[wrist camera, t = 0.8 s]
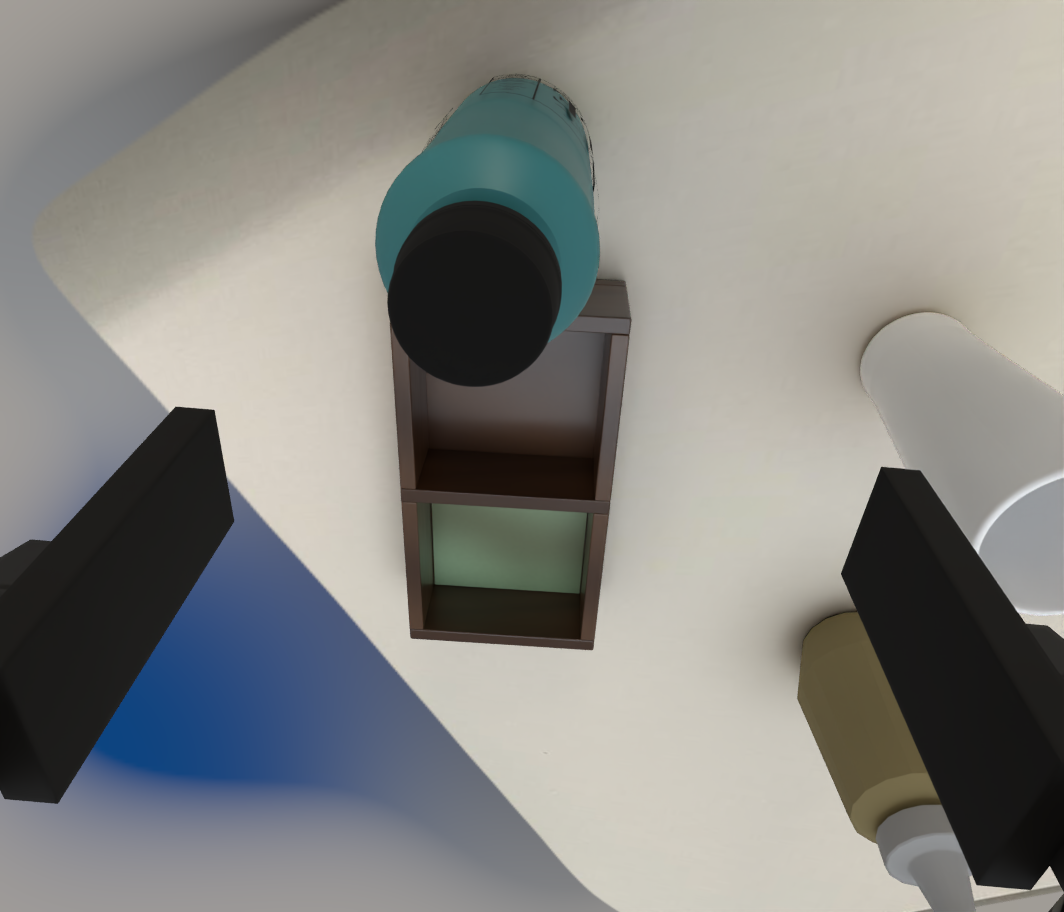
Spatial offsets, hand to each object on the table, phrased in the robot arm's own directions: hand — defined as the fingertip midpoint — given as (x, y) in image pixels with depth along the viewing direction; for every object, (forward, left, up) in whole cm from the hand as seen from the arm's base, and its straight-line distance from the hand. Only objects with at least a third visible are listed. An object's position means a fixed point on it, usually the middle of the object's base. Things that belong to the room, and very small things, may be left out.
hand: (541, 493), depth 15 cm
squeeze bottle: (+27, +20, -24) cm, 41 cm away
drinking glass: (+7, +18, -24) cm, 30 cm away
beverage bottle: (-2, -2, -24) cm, 24 cm away
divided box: (+14, -2, -24) cm, 27 cm away
